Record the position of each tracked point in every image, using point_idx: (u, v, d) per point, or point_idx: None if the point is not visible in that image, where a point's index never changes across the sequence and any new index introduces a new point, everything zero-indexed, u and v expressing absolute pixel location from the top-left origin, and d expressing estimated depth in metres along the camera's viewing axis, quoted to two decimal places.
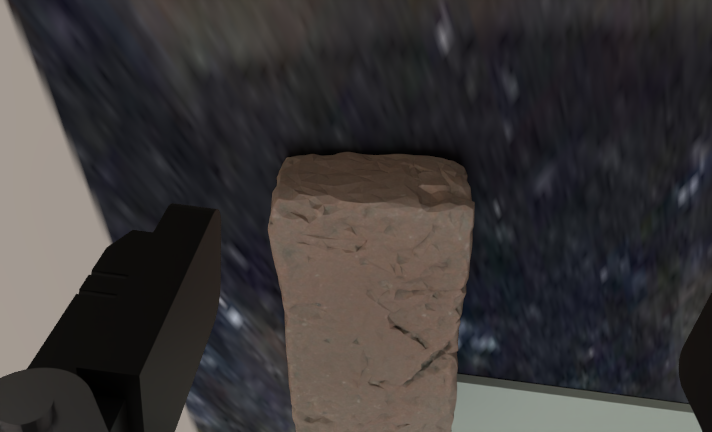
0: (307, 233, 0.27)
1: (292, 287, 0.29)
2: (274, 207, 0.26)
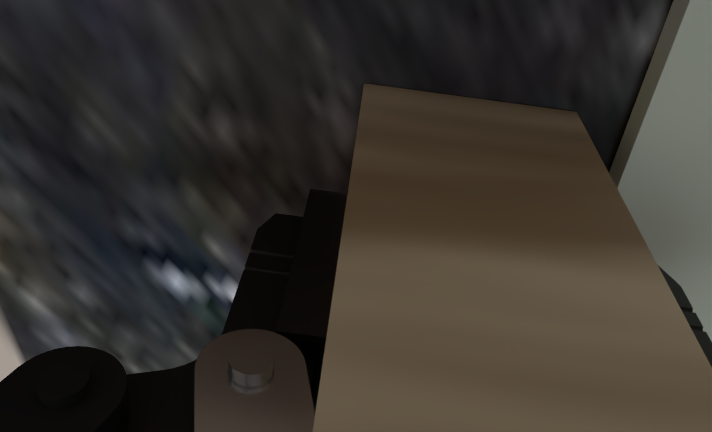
0: None
1: None
2: None
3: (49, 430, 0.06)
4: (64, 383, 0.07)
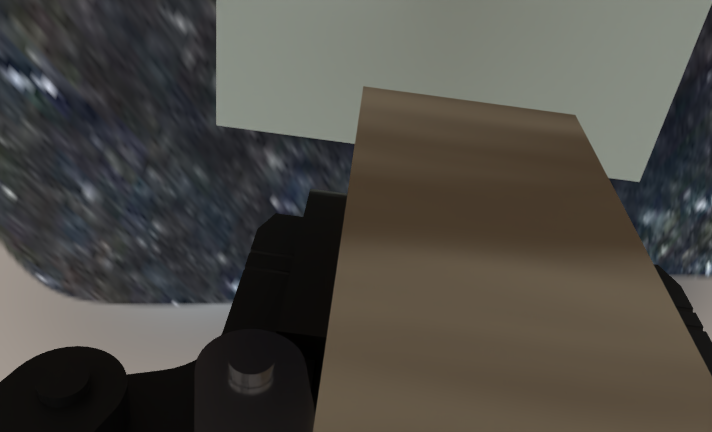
0: None
1: None
2: None
3: (49, 430, 0.06)
4: (65, 382, 0.07)
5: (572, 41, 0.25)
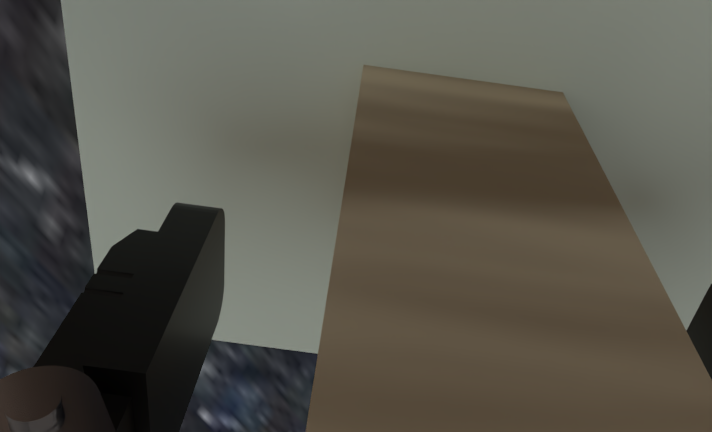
0: None
1: None
2: None
3: None
4: None
5: (689, 220, 0.15)
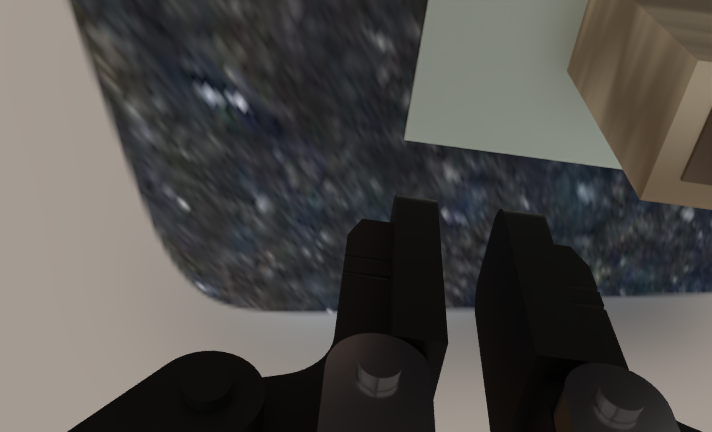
0: None
1: None
2: None
3: None
4: (208, 387, 0.07)
5: None
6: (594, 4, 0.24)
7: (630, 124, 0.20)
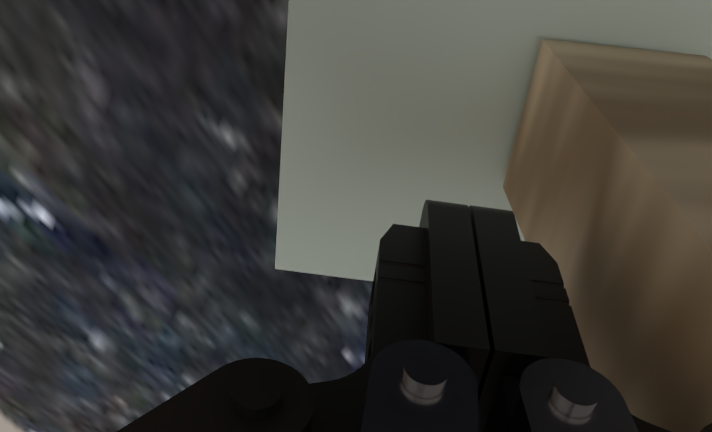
0: None
1: None
2: None
3: None
4: (257, 395, 0.07)
5: None
6: (539, 99, 0.15)
7: (622, 370, 0.10)
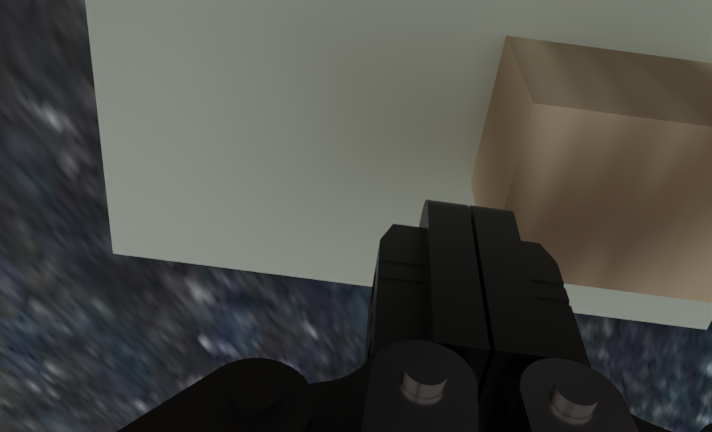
0: None
1: None
2: None
3: None
4: (257, 395, 0.07)
5: None
6: (563, 162, 0.13)
7: None
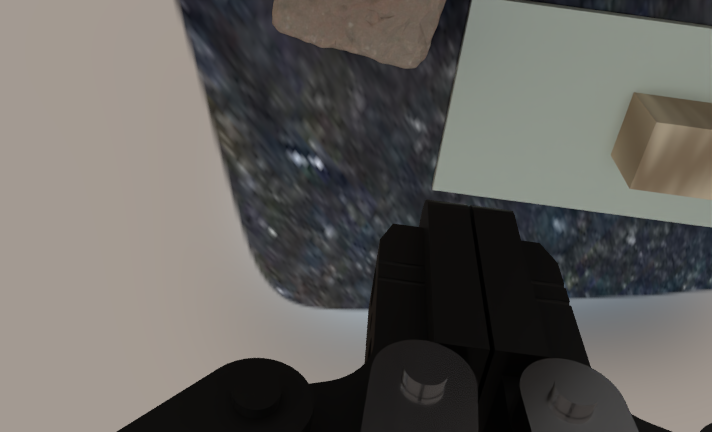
0: None
1: None
2: None
3: None
4: (258, 394, 0.07)
5: None
6: (665, 143, 0.35)
7: None
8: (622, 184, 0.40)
